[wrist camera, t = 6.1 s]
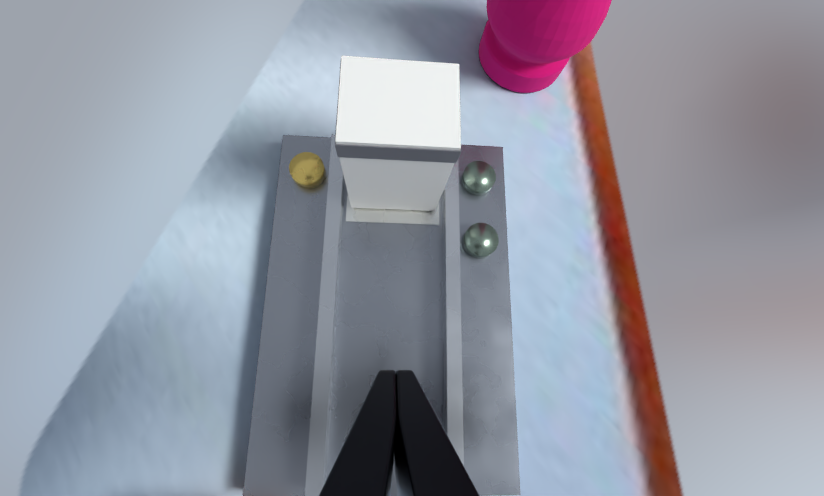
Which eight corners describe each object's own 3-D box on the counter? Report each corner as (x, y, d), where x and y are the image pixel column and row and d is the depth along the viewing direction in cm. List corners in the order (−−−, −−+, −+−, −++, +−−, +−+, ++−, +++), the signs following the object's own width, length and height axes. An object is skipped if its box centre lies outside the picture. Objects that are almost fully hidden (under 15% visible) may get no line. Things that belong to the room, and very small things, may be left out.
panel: (513, 487, 20) (529, 505, 18) (249, 491, 19) (232, 511, 17) (497, 154, 25) (508, 137, 22) (287, 143, 24) (277, 124, 21)
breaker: (435, 211, 22) (462, 149, 15) (350, 208, 21) (333, 142, 14) (435, 150, 23) (460, 62, 16) (353, 145, 22) (340, 54, 15)
